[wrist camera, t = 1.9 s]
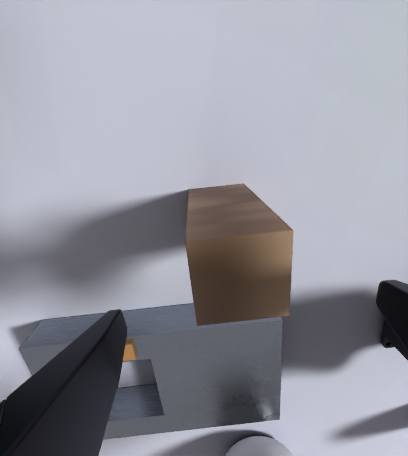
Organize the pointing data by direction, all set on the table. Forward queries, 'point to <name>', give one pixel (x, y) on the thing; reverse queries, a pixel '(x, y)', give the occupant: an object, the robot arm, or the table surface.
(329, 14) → the table surface
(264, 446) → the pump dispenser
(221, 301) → the walnut peg
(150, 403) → the grey peg hole board
